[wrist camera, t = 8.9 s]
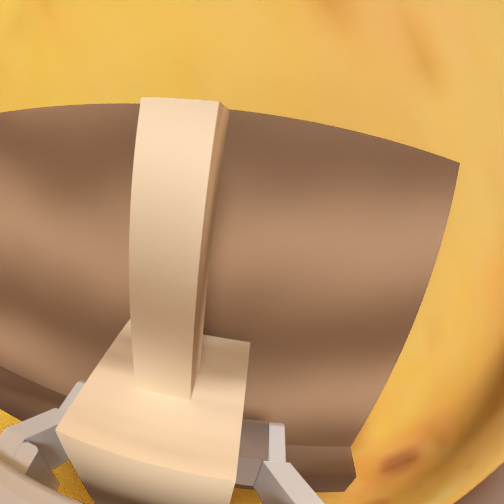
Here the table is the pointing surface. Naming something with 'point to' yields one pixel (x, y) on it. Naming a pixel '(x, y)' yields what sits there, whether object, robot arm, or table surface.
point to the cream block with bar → (165, 333)
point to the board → (225, 264)
